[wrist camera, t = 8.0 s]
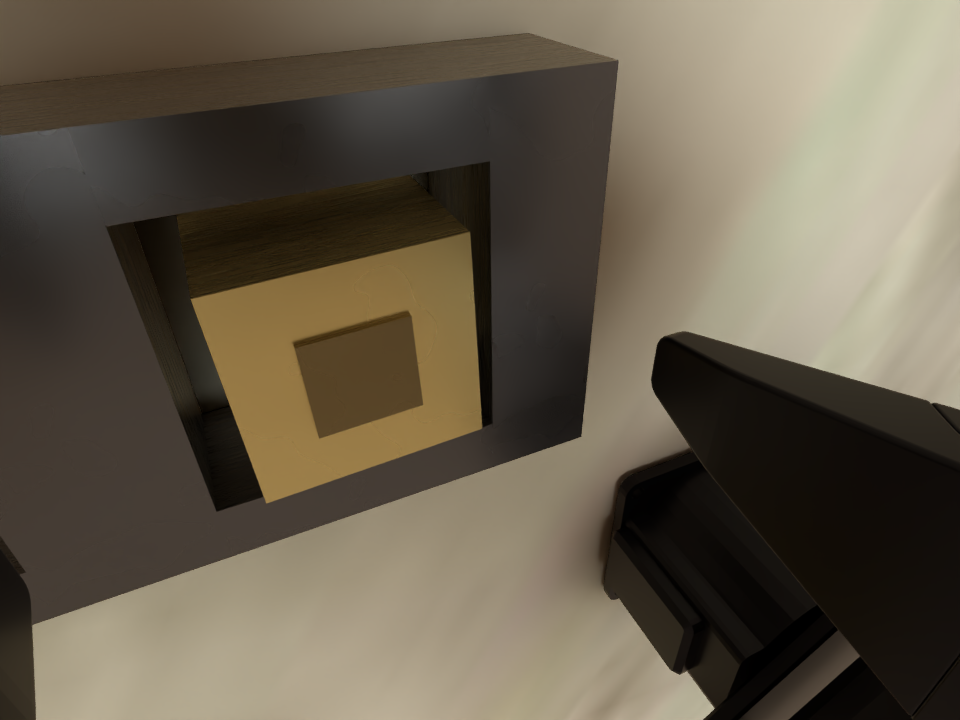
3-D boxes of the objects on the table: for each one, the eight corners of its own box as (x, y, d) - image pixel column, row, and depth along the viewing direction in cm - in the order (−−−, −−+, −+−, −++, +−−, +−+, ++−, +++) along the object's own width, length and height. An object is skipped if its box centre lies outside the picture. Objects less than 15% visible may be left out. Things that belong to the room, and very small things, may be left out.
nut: (388, 155, 13) (473, 234, 9) (410, 324, 15) (484, 431, 12) (173, 196, 11) (191, 302, 8) (235, 374, 14) (267, 507, 11)
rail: (528, 33, 12) (618, 59, 10) (521, 367, 17) (581, 436, 15) (-1051, 190, 6) (-1683, 340, 4) (-398, 635, 11) (-530, 817, 9)
